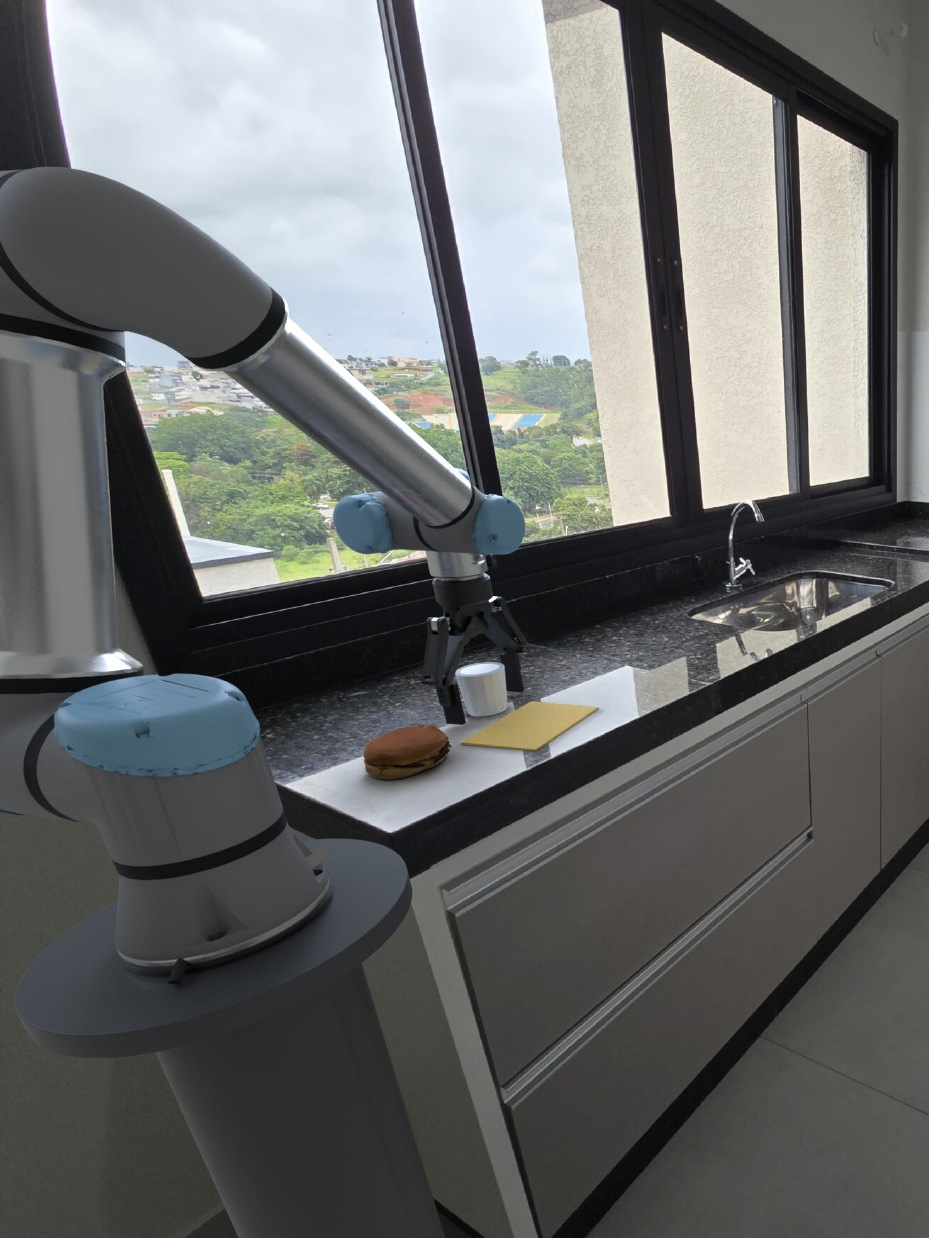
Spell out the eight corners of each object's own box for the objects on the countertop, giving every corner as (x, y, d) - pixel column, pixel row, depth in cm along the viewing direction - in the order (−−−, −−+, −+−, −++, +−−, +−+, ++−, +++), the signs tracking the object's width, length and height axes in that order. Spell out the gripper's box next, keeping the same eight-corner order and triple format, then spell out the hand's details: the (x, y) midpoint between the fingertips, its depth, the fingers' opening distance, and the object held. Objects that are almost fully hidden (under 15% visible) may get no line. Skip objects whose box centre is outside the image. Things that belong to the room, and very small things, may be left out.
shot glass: (478, 721, 114) (469, 678, 112) (454, 711, 118) (445, 670, 115) (520, 707, 120) (513, 666, 117) (497, 698, 123) (489, 658, 121)
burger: (353, 783, 96) (344, 750, 94) (388, 752, 104) (380, 722, 103) (436, 778, 97) (429, 746, 95) (464, 748, 106) (457, 718, 104)
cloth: (536, 752, 105) (535, 749, 105) (460, 744, 107) (460, 742, 107) (599, 709, 120) (598, 706, 120) (531, 703, 122) (531, 701, 121)
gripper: (417, 597, 99) (450, 741, 106) (536, 560, 122) (556, 680, 129) (368, 594, 100) (404, 737, 108) (495, 558, 123) (517, 677, 131)
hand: (487, 706), depth 119 cm, fingers open, 13 cm apart
